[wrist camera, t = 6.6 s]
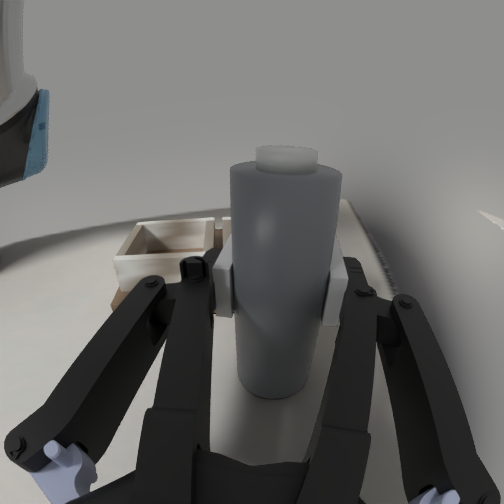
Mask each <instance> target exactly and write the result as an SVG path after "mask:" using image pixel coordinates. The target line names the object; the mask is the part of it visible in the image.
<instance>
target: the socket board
mask: <svg viewBox="0 0 504 504" xmlns="http://www.w3.org/2000/svg"><path fill="white" fill-rule="evenodd" d="M230 234H231V217H222V229H216V230H215V221H214V218H195V219H178V220H162V221H148V222H138V223H137V224H136V226H135V227H134V229H133V230H132V231H131V233H130V234H129V236H128V237H127V239H126V241H125V242H124V244H123V245H122V247H121V248H120V250H119V251H118V253H117V254H116V256H115V258H114V259H113V264H114V268H115V272H116V275H117V279H118V283H119V288H118V290H117V292H116V295H115V297H114V299H113V301H112V303H111V308H112V310H113V312H114V310H115V309H116V308H117V307H118V306H119V304H120V303H121V302H122V301H123V300H124V298H125V297H126V296H127V295H128V294H129V293H130V291H131V290H132V289H133V288H134V287H135V286H136V284H137V283H138V282H139V281H140V280H141V279H142V278H144V277H147V276H151V275H158V276H162V277H163V278H164V280H165V284H167V283H177V282H181V273H180V266H179V263H180V261H181V260H183V259H184V258H187V257H190V256H201V257H203V255H204V254H205V252H206V251H208V250H209V249H211V248H221V249H223V247H224V245H225V243H226V242H227V240H228V238H229V236H230ZM214 313H216V308H215V311H214Z"/></svg>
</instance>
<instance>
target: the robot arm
mask: <svg viewBox="0 0 504 504" xmlns="http://www.w3.org/2000/svg"><path fill="white" fill-rule="evenodd" d="M23 5H24V0H0V188H1V187H4V186H6V185H9V184H12V183H15V182H18V181H21V180H22V181H23V180H25V179H26V178H27V177H30V176H32V175H35V174H38V173H40V172H41V171H42V170H43V169H44V168H45V166H46V164H47V160H48V120H49V91H48V90H43V89H40V90H39V91H37V82H36V79H35V77H34V76H32V75H30V74H28V73H25V72H24V65H23V44H22V43H23V41H22V27H23ZM179 266H180V273H181V282H177V283H167V284H165V280H164V278H163V277H162V276H158V275H151V276H147V277H144V278H142V279H141V280H140V281H139V282H138V283H137V284H136V286H135V287H134V288H133V289H132V290H131V291H130V293H129V294H128V295H127V296H126V297H125V298H124V300H123V301H122V302H121V303H120V304H119V306H118V307H117V308H116V309H115V310H114V312H113V313H112V314H111V315H110V316H109V318H108V319H107V320H106V321H105V323H104V324H103V325H102V326H101V328H100V329H99V330H98V331H97V333H96V334H95V335H94V336H93V338H92V339H91V340H90V342H89V343H88V344H87V345H86V347H85V348H84V349H83V351H82V352H81V353H80V355H79V356H78V357H77V359H76V360H75V361H74V363H73V364H72V365H71V367H70V368H69V369H68V371H67V372H66V373H65V375H64V376H63V378H62V379H61V380H60V382H59V383H58V385H57V386H56V387H55V389H54V390H53V392H52V393H51V395H50V396H49V398H48V399H47V401H46V402H45V403H44V405H43V406H41V407H40V408H39V409H38V410H36V411H35V412H34V413H33V414H31V415H30V416H29V417H28V418H26V419H25V420H24V421H23V422H21V423H20V424H19V425H18V426H16V427H15V428H14V429H13V430H11V431H10V432H9V434H8V435H7V436H6V439H5V441H4V449H5V452H6V455H7V456H8V458H9V459H10V460H11V461H13V462H14V463H15V464H17V465H18V466H20V467H21V468H23V469H24V470H26V471H27V472H29V473H30V474H31V475H32V477H33V478H34V480H35V481H36V483H37V484H38V486H39V487H40V489H41V490H42V491H43V493H44V494H45V495H46V497H47V498H48V499H49V501H50V502H51V503H52V504H366V503H365V502H364V501H363V500H362V499H361V498H360V497H359V495H360V491H361V487H362V482H363V478H364V474H365V469H366V464H367V459H368V454H369V449H370V442H371V436H370V433H368V431H367V428H368V421H369V414H370V406H371V398H372V389H373V379H374V367H375V352H376V342H377V346H378V350H379V354H380V357H381V361H382V366H383V370H384V374H385V378H386V383H387V387H388V392H389V396H390V401H391V406H392V411H393V417H394V422H395V428H396V434H397V440H398V447H399V454H400V461H401V470H402V479H403V485H404V490H405V494H406V497H407V501H408V504H500V499H501V498H500V493H499V490H498V489H497V487H496V485H495V483H494V482H493V480H492V478H491V476H490V475H489V473H488V471H487V470H486V468H485V466H484V465H483V463H482V461H481V460H480V458H479V457H478V455H477V453H476V449H475V445H474V441H473V438H472V434H471V431H470V427H469V424H468V421H467V417H466V414H465V411H464V408H463V405H462V402H461V399H460V397H459V394H458V391H457V388H456V385H455V383H454V380H453V378H452V375H451V372H450V370H449V368H448V365H447V363H446V360H445V358H444V356H443V353H442V351H441V349H440V347H439V344H438V342H437V340H436V338H435V336H434V333H433V331H432V329H431V327H430V325H429V323H428V321H427V319H426V317H425V315H424V313H423V311H422V309H421V307H420V305H419V303H418V302H417V301H416V299H414V298H413V297H411V296H409V295H405V294H398V295H396V296H394V298H393V300H392V301H389V300H385V299H382V298H379V297H377V294H376V291H375V290H374V289H373V288H372V287H370V286H369V285H368V283H367V280H366V277H365V275H364V272H363V269H362V266H361V263H360V262H359V261H358V260H357V259H356V258H351V257H343V256H342V253H341V249H340V246H339V242H338V239H337V235H336V233H335V240H334V247H333V254H332V260H331V266H330V272H329V278H328V284H327V289H326V295H325V300H324V305H323V310H322V315H321V321H322V326H337V325H338V321H339V319H340V327H339V330H338V334H337V337H336V341H335V343H336V344H335V349H334V354H333V358H332V363H331V367H330V371H329V376H328V380H327V384H326V388H325V392H324V395H323V399H322V403H321V406H320V410H319V413H318V417H317V420H316V424H315V427H314V430H313V434H312V437H311V440H310V443H309V446H308V449H307V452H306V455H305V457H304V460H303V462H302V463H300V462H282V463H275V464H267V465H258V466H250V465H246V464H244V463H241V462H239V461H236V460H233V459H231V458H228V457H226V456H224V455H221V454H219V453H214V452H211V451H210V398H211V371H212V348H213V329H214V317H213V313H214V311H215V308H216V316H221V317H229V318H232V315H233V312H234V289H233V263H232V234H230V236H229V238H228V240H227V242H226V243H225V245H224V247H223V249H221V248H211V249H209V250H208V251H206V252H205V254H204V255H203V257H201V256H190V257H187V258H184V259H183V260H181V261H180V263H179ZM166 338H167V340H166ZM165 340H166V344H165V349H164V353H163V358H162V363H161V368H160V373H159V378H158V383H157V388H156V393H155V399H154V404H153V406H152V408H148V409H147V410H146V412H145V415H144V420H143V425H142V431H141V437H140V443H139V449H138V456H137V463H136V470H134V471H132V472H131V473H129V474H127V475H125V476H123V477H121V478H119V479H117V480H115V481H113V482H111V483H109V484H107V485H105V486H103V487H101V488H98V489H96V490H94V491H92V492H90V485H91V484H92V483H95V482H96V481H97V478H98V477H97V473H96V467H95V464H96V463H97V462H98V461H99V460H100V458H101V457H102V456H103V454H104V453H105V451H106V450H107V448H108V446H109V445H110V443H111V441H112V439H113V437H114V435H115V433H116V431H117V429H118V427H119V425H120V423H121V421H122V419H123V418H124V416H125V414H126V412H127V410H128V408H129V406H130V404H131V402H132V400H133V399H134V397H135V395H136V393H137V391H138V389H139V387H140V386H141V384H142V382H143V380H144V378H145V376H146V374H147V373H148V371H149V369H150V367H151V365H152V364H153V362H154V360H155V358H156V356H157V355H158V353H159V351H160V349H161V347H162V346H163V344H164V342H165Z"/></svg>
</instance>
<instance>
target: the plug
mask: <svg viewBox="0 0 504 504" xmlns="http://www.w3.org/2000/svg"><path fill="white" fill-rule="evenodd" d="M317 159H318V151H317V150H314V149H310V148H303V147H295V146H261V147H257V148H256V161H250V162H244V163H239V164H236V165H234V166H232V167H231V168H230V196H231V234H232V263H233V289H234V312H235V333H236V352H237V370H238V377H239V380H240V382H241V383H242V385H243V386H244V387H245V388H246V389H247V390H248V391H250V392H251V393H253V394H255V395H257V396H259V397H263V398H269V399H278V398H284V397H287V396H290V395H292V394H294V393H296V392H297V391H298V390H300V389H301V388H302V387H303V385H304V384H305V382H306V380H307V377H308V373H309V369H310V365H311V361H312V356H313V352H314V348H315V344H316V339H317V335H318V330H319V325H320V320H321V315H322V310H323V305H324V300H325V295H326V289H327V284H328V278H329V272H330V266H331V260H332V254H333V247H334V240H335V233H336V226H337V218H338V210H339V201H340V192H341V181H342V173H341V172H340V171H338V170H336V169H334V168H331V167H327V166H324V165H319V164H317Z"/></svg>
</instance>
